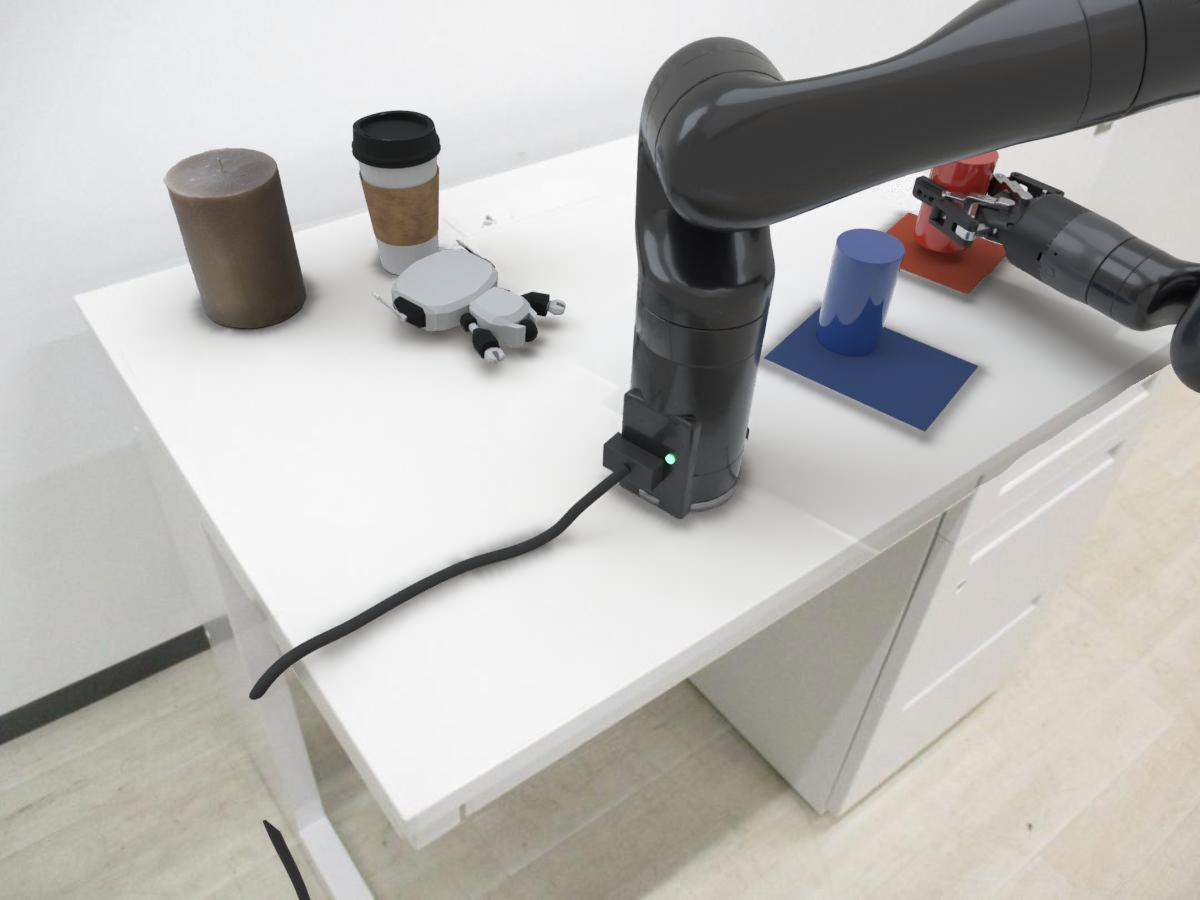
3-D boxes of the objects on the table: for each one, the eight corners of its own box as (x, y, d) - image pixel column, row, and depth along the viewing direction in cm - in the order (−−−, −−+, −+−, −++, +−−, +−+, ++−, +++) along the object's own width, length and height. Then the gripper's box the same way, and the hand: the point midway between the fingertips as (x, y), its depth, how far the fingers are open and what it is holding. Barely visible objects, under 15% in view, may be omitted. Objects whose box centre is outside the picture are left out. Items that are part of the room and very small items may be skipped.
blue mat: (923, 436, 81) (925, 431, 81) (762, 362, 88) (763, 357, 88) (976, 370, 88) (978, 365, 88) (824, 307, 95) (825, 302, 95)
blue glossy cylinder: (861, 364, 87) (886, 271, 81) (804, 339, 90) (824, 247, 83) (889, 335, 91) (916, 243, 84) (833, 312, 94) (855, 221, 87)
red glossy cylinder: (956, 259, 99) (985, 169, 92) (903, 240, 101) (927, 151, 95) (978, 237, 102) (1008, 149, 96) (926, 219, 105) (951, 132, 98)
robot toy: (572, 328, 93) (454, 268, 98) (576, 290, 89) (453, 230, 95) (493, 392, 85) (370, 324, 90) (494, 353, 82) (366, 284, 87)
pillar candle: (318, 313, 92) (288, 169, 82) (215, 340, 88) (170, 192, 78) (291, 265, 98) (260, 125, 88) (193, 288, 94) (149, 145, 84)
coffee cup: (351, 266, 98) (328, 126, 88) (405, 232, 103) (389, 96, 93) (415, 292, 95) (398, 150, 85) (466, 255, 100) (456, 117, 90)
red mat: (966, 298, 97) (967, 294, 97) (860, 258, 102) (861, 253, 102) (1008, 252, 104) (1010, 247, 104) (907, 216, 110) (908, 212, 109)
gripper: (1136, 195, 89) (996, 129, 100) (1035, 233, 84) (897, 158, 94) (1105, 264, 95) (975, 194, 105) (1008, 304, 89) (880, 226, 99)
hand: (939, 177), depth 99 cm, fingers closed on red glossy cylinder, 6 cm apart
